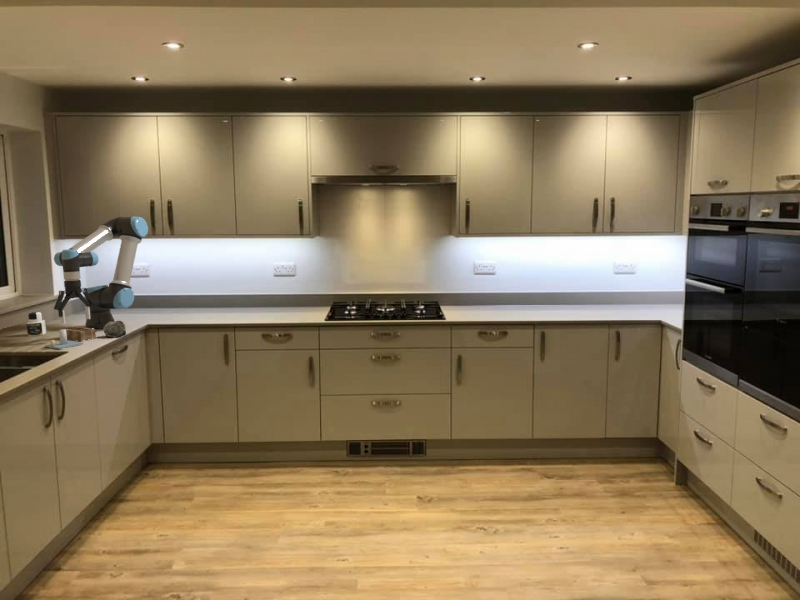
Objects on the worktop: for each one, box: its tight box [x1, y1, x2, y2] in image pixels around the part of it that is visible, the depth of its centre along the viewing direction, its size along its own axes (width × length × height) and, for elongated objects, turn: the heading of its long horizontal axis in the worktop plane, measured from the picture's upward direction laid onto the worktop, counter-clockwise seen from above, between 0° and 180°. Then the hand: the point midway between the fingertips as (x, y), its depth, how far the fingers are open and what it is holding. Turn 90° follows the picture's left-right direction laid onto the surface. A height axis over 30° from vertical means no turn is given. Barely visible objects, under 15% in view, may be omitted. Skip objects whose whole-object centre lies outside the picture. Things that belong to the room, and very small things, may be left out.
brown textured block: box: [59, 325, 97, 342], centre depth 314 cm, size 17×8×5 cm, turn 61°
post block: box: [44, 328, 84, 350], centre depth 297 cm, size 12×12×8 cm
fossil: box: [102, 320, 127, 339], centre depth 318 cm, size 11×9×10 cm
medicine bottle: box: [26, 311, 47, 337], centre depth 326 cm, size 7×7×12 cm
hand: (75, 321), depth 313 cm, fingers open, 13 cm apart
